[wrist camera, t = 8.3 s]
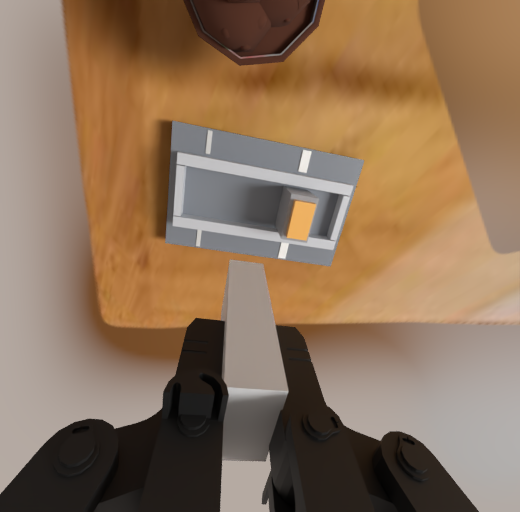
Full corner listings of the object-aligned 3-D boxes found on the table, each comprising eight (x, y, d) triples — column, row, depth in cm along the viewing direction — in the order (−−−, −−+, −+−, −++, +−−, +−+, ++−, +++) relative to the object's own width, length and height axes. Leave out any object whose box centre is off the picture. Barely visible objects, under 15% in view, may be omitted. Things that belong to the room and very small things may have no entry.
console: (176, 121, 31) (169, 119, 27) (357, 159, 34) (370, 161, 31) (169, 237, 36) (162, 247, 33) (325, 260, 39) (334, 271, 36)
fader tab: (283, 185, 32) (292, 195, 27) (307, 190, 33) (321, 200, 28) (274, 225, 34) (282, 241, 29) (297, 228, 35) (308, 245, 30)
